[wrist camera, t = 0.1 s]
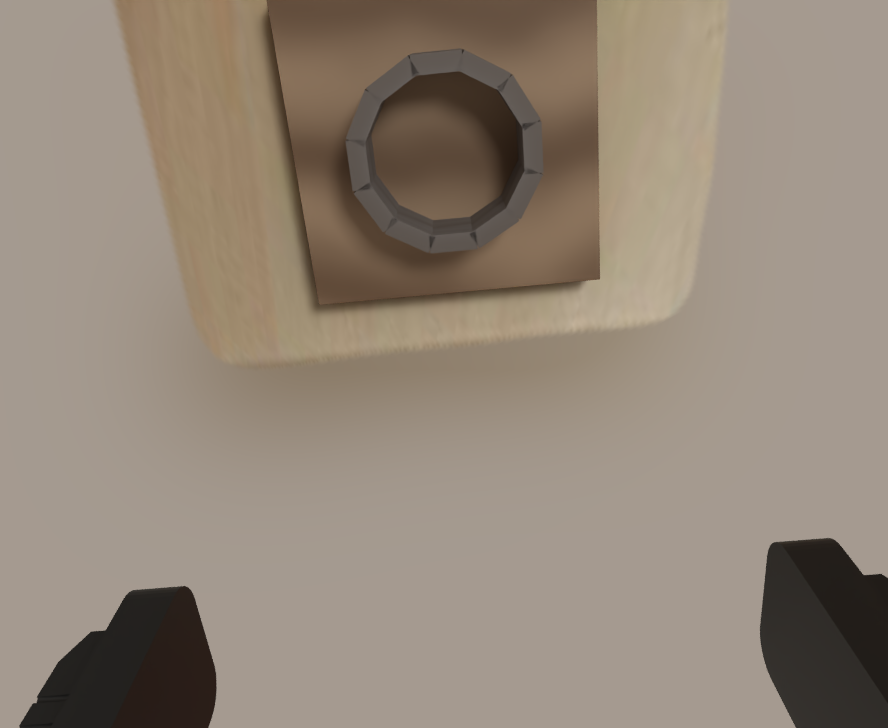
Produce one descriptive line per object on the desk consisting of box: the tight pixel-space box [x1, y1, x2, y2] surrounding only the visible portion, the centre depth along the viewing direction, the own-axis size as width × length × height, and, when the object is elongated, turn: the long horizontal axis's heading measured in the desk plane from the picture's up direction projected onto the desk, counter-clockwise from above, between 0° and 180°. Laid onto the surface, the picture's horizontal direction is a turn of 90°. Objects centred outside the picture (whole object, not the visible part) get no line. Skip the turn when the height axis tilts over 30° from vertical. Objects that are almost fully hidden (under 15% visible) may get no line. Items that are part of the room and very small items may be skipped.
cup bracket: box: [267, 0, 600, 305], centre depth 34 cm, size 14×14×5 cm
